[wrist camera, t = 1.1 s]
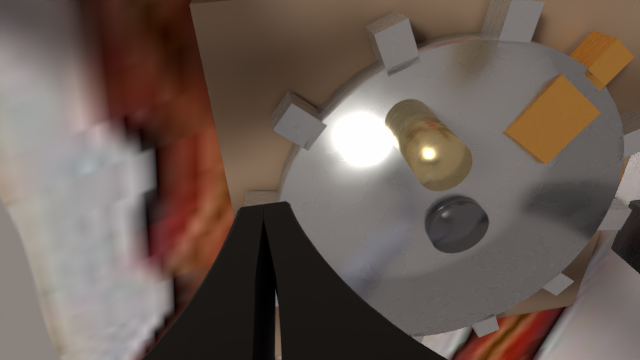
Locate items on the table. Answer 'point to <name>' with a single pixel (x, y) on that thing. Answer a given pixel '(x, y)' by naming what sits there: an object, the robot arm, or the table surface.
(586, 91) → the sprocket wheel
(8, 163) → the table surface
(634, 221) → the brushed metal cube
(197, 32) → the base
